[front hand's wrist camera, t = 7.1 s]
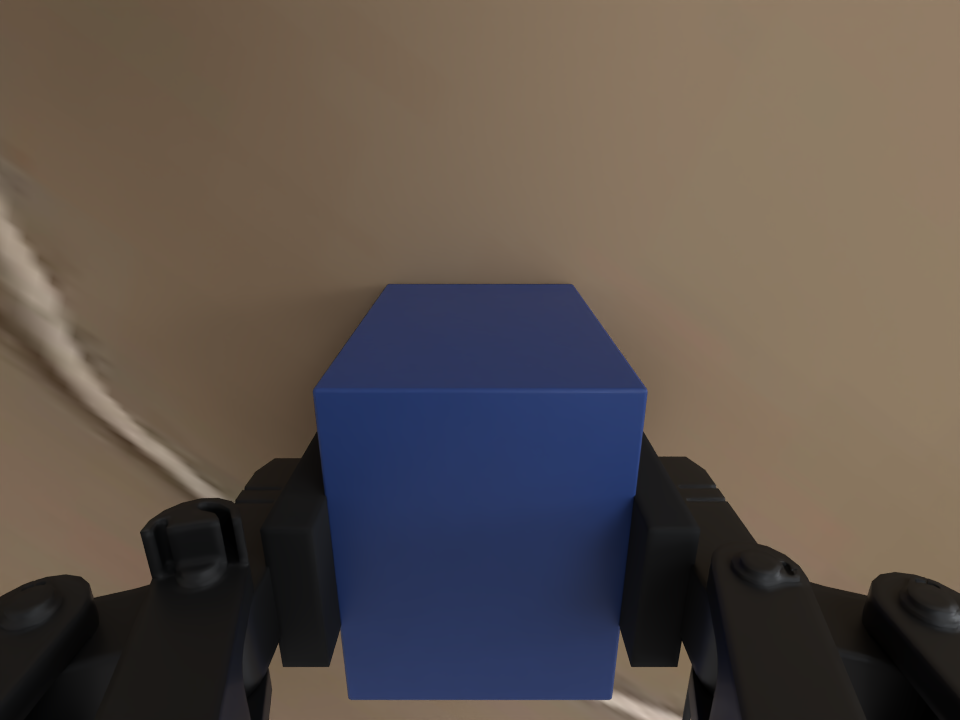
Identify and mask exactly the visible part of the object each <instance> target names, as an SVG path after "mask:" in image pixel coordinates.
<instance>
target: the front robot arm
mask: <svg viewBox="0 0 960 720" xmlns="http://www.w3.org/2000/svg"><path fill="white" fill-rule="evenodd" d="M140 534H141V537H142V541H143V545H144V549H145V553H146V556H147V560H148V564H149V568H150V572H151V576H152V581H151V583H150V585H146V586H143V587H140V588H136V589H132V590H127V591H123V592H118V593H114V594H109V595H105V596H100V597H96V598H94V597H93V594H92V591H91V588H90V585H89V583H88V582H87V581H85V580H84V579H83V578H82V577H79V576H73V575H58V576H50V577H45V578H42V579H38V580H36V581H32V582H29V583H26V584H24V585H22V586H20V587H18V588H16V589H14V590H12V591H10V592H8V593H6V594H4V595H2V596H1V597H0V720H269V713H270V704H271V694H272V686H271V679H270V673H269V668H268V667H269V665H270V662H271V660H272V657H273V655H274V653H275V650H276V648H277V645H278V643H279V646H280V652H281V658H282V664H283V667H329V665H330V662H331V658H332V655H333V652H334V648H335V645H336V641H337V638H338V635H339V631H340V628H341V619H340V611H339V602H338V593H337V585H336V576H335V567H334V559H333V550H332V541H331V533H330V524H329V515H328V507H327V498H326V496H325V492H324V483H323V475H322V466H321V458H320V449H319V440H318V432H316V434H315V436H314V438H313V439H312V441H311V443H310V444H309V446H308V448H307V450H306V451H305V453H304V455H303V456H302V458H275V459H273V460H272V461H270V462H269V463H267V464H266V465H265V466H263V467H262V468H260V469H259V470H257V471H256V472H255V473H254V475H253V476H252V478H251V479H250V480H249V482H248V483H247V485H246V486H245V490H242V492H241V493H240V495H239V496H238V497H237V499H236V502H235V503H233V502H232V501H229V500H224V499H220V498H201V499H197V500H192V501H188V502H184V503H181V504H178V505H176V506H174V507H171V508H169V509H166V510H164V511H163V512H161V513H160V514H158V515H157V516H155V517H154V518H152V519H151V520H150V521H149V522H148V523H147V524H146V525H145V527H144V528H143V529H142V530H141V532H140ZM619 627H620V630H621V634H622V637H623V640H624V644H625V647H626V651H627V654H628V657H629V661H630V664H631V667H677V666H678V660H679V654H680V648H681V642H683V644H684V647H685V649H686V651H687V654H688V656H689V659H690V661H691V663H692V668H691V673H690V679H689V684H688V690H687V695H686V701H685V706H684V712H683V719H682V720H690V718H691V720H960V593H958V592H956V591H954V590H952V589H950V588H948V587H946V586H944V585H942V584H940V583H939V582H936V581H933V580H931V579H927V578H925V577H921V576H917V575H913V574H906V573H898V572H893V573H886V574H880V575H879V576H878V577H877V578H875V579H874V580H873V581H872V583H871V586H870V589H869V592H868V596H866V595H862V594H857V593H853V592H848V591H844V590H839V589H835V588H830V587H826V586H822V585H819V584H815V583H812V582H809V580H808V578H807V576H806V575H805V573H804V572H803V571H802V569H801V568H800V566H799V565H797V564H796V563H795V562H794V561H792V560H791V559H790V558H789V557H787V556H786V555H784V554H782V553H780V552H778V551H776V550H774V549H772V548H770V547H768V546H764V545H760V544H757V542H756V541H755V540H754V538H753V537H752V535H751V534H750V533H749V531H748V530H747V528H746V527H745V525H744V524H743V523H742V521H741V520H740V518H739V517H738V516H737V514H736V513H735V511H734V510H733V509H732V507H731V506H730V504H729V503H728V502H726V501H725V497H724V496H723V495H722V493H721V492H720V490H719V489H718V488H716V485H715V483H714V482H713V480H712V479H711V478H710V476H709V475H708V473H707V472H706V471H705V470H704V469H703V468H701V467H700V466H699V465H697V464H696V463H694V462H693V461H691V460H690V459H688V458H687V457H658V456H657V454H656V452H655V451H654V449H653V447H652V446H651V444H650V442H649V440H648V439H647V437H646V435H645V434H644V432H643V435H642V444H641V452H640V461H639V469H638V478H637V487H636V494H635V496H634V501H633V510H632V518H631V527H630V536H629V544H628V553H627V562H626V570H625V579H624V588H623V596H622V605H621V614H620V622H619Z"/></svg>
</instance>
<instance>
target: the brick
mask: <svg viewBox="0 0 960 720" xmlns="http://www.w3.org/2000/svg"><path fill="white" fill-rule="evenodd" d="M313 397H314V406H315V415H316V423H317V432H318V440H319V449H320V458H321V466H322V475H323V483H324V492H325V496H326V498H327V507H328V515H329V524H330V533H331V541H332V550H333V559H334V567H335V576H336V585H337V593H338V602H339V611H340V619H341V628H340V630H341V638H342V647H343V656H344V664H345V673H346V681H347V690H348V697H349V699H350V700H610V699H611V698H612V693H613V684H614V675H615V667H616V658H617V650H618V641H619V633H620V627H619V622H620V614H621V605H622V596H623V588H624V579H625V570H626V562H627V553H628V544H629V536H630V527H631V518H632V510H633V501H634V496H635V494H636V487H637V478H638V469H639V461H640V452H641V444H642V435H643V426H644V418H645V409H646V401H647V389H646V387H645V386H644V384H643V383H642V382H641V380H640V379H639V377H638V376H637V375H636V373H635V372H634V370H633V369H632V368H631V366H630V365H629V363H628V362H627V360H626V359H625V358H624V356H623V355H622V353H621V352H620V351H619V349H618V348H617V346H616V345H615V344H614V342H613V341H612V339H611V338H610V336H609V335H608V334H607V332H606V331H605V329H604V328H603V327H602V325H601V324H600V322H599V321H598V320H597V318H596V317H595V315H594V314H593V312H592V311H591V310H590V308H589V307H588V305H587V304H586V303H585V301H584V300H583V298H582V297H581V296H580V294H579V293H578V291H577V290H576V289H575V287H574V286H573V285H572V284H388V285H387V286H386V287H385V289H384V290H383V292H382V293H381V295H380V296H379V297H378V299H377V300H376V302H375V303H374V304H373V306H372V307H371V309H370V310H369V311H368V313H367V314H366V316H365V317H364V319H363V320H362V321H361V323H360V324H359V326H358V327H357V328H356V330H355V331H354V333H353V334H352V335H351V337H350V338H349V340H348V341H347V343H346V344H345V345H344V347H343V348H342V350H341V351H340V352H339V354H338V355H337V357H336V358H335V360H334V361H333V362H332V364H331V365H330V367H329V368H328V369H327V371H326V372H325V374H324V375H323V376H322V378H321V379H320V381H319V382H318V384H317V385H316V386H315V388H314V390H313Z"/></svg>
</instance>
